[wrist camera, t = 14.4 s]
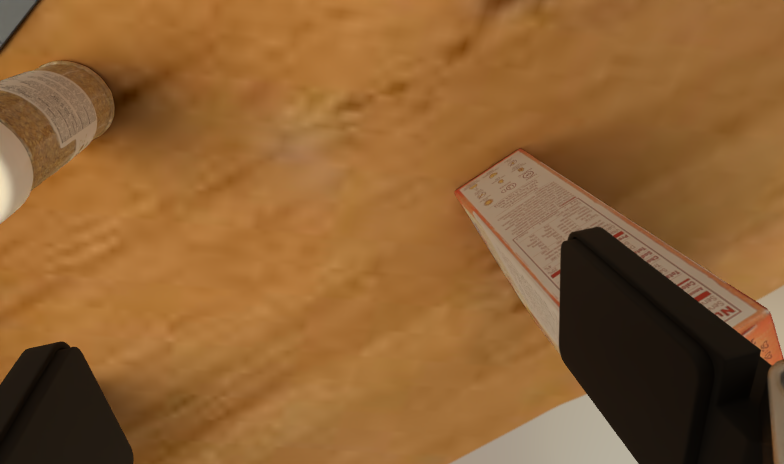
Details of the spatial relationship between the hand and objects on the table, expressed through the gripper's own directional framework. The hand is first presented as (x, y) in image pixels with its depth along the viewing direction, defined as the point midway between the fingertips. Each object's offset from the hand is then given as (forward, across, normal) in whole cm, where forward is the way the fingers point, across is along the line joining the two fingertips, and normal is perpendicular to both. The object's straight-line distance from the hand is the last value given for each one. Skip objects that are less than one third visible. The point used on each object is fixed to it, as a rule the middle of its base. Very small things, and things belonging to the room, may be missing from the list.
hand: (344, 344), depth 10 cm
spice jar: (+24, +12, -2) cm, 28 cm away
